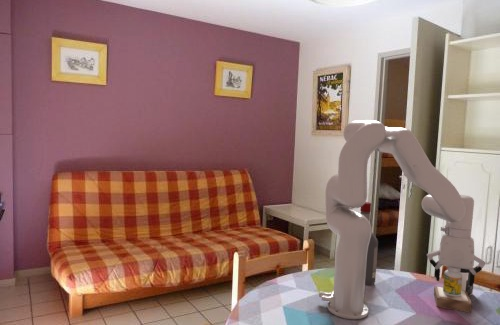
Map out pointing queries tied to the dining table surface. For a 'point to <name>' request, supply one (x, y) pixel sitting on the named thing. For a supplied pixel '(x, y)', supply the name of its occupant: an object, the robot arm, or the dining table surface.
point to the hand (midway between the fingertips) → (453, 282)
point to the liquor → (370, 250)
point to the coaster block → (452, 300)
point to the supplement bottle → (452, 281)
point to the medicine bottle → (466, 282)
